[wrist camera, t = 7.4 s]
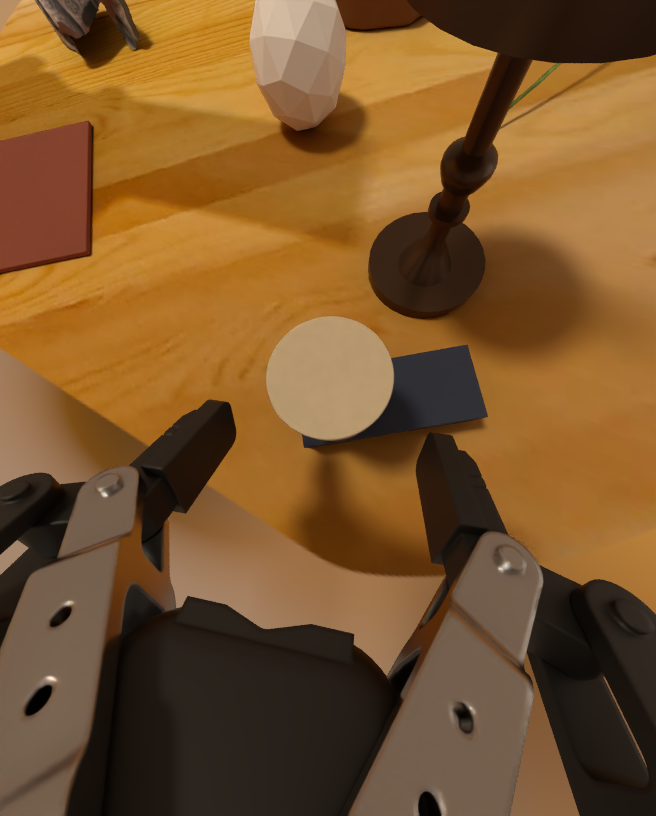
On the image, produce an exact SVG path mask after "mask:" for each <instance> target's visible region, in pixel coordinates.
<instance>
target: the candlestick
mask: <svg viewBox="0 0 656 816" xmlns="http://www.w3.org/2000/svg"><path fill="white" fill-rule="evenodd" d="M406 1H407V2H408V3H409V4H410V5H411V7H412V8H413V9H414V10H415V11H417V12H418V13H419V14H421V15H422V16H423V17H425V18H426V19H427V20H429V21H430V22H431V23H432V24H434V25H435V26H436V27H438V28H439V29H441V30H443V31H445V32H447V33H449V34H451V35H453V36H455V37H457V38H459V39H461V40H463V41H465V42H467V43H469V44H471V45H474V46H477V47H481V48H484V49H487V50H491V51H494V52H497V53H498V54H497V56H496V59H495V61H494V64H493V67H492V69H491V72H490V74H489V77H488V79H487V82H486V85H485V87H484V90H483V92H482V95H481V97H480V100H479V103H478V105H477V108H476V110H475V113H474V115H473V118H472V121H471V123H470V126H469V128H468V131H467V133H466V136H465V137H462V138H459V139H457V140H456V141H454V142H453V143H452V144H451V145H450V146H449V147H448V148H447V149H446V151H445V152H444V155H443V158H442V161H441V165H440V172H441V182H442V185H443V187H444V188H443V190H442V192H439V193H438V194H436V195H435V196H434V197H433V198H432V200H431V202H430V205H429V208H428V212H421V213H413V214H410V215H406V216H403V217H401V218H399V219H397V220H394V221H393V222H392V223H390V224H389V225H387V226H386V227H385V228H384V229H383V230H382V231H381V232H380V233H379V235H378V236H377V238H376V239H375V241H374V243H373V245H372V248H371V251H370V258H369V265H368V274H369V280H370V283H371V286H372V288H373V290H374V292H375V294H376V295H377V297H378V298H379V299H380V300H381V301H382V302H383V303H384V304H385V305H387V306H388V307H389V308H391V309H392V310H394V311H396V312H398V313H400V314H402V315H406V316H410V317H415V318H434V317H438V316H442V315H446V314H448V313H450V312H452V311H454V310H456V309H457V308H459V307H460V306H461V305H463V304H464V303H465V302H466V301H467V299H468V298H469V297H470V296H471V295H472V294H473V292H474V291H475V290H476V289H477V287H478V285H479V284H480V282H481V280H482V277H483V274H484V270H485V256H484V251H483V248H482V246H481V243H480V241H479V239H478V238H477V237H476V235H475V234H474V232H473V231H472V230H471V229H469V228H468V227H467V226H466V225H465V224H463V223H462V222H463V221H464V220H465V218H466V216H467V215H468V213H469V210H470V204H469V201H468V199H467V198H468V196H469V195H470V194H472V193H474V192H475V191H477V190H478V189H479V188H480V187H482V186H483V185H484V184H485V183H486V182H487V181H488V180H489V179H490V178H491V176H492V174H493V173H494V171H495V169H496V167H497V162H498V153H497V150H496V148H495V146H494V145H493V144H492V143H493V141H494V139H495V137H496V135H497V133H498V130H499V128H500V126H501V124H502V122H503V120H504V118H505V116H506V114H507V112H508V110H509V108H510V106H511V104H512V102H513V100H514V98H515V95H516V93H517V91H518V89H519V87H520V85H521V83H522V81H523V79H524V77H525V75H526V73H527V71H528V69H529V67H530V65H531V63H532V61H533V60H538V61H545V62H552V63H606V62H614V61H621V60H628V59H636V58H643V57H649V56H652V55H656V0H406Z"/></svg>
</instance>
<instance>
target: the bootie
mask: <svg viewBox="0 0 656 816" xmlns="http://www.w3.org/2000/svg"><path fill="white" fill-rule="evenodd" d="M266 384H267V391H268V396H269V399H270V401H271V404H272V406H273V408H274V410H275V411H276V413H277V414H278V416H279V417H280V418H281V419H282V420H283V421H284V422H285V423H286V424H287V425H288V426H289V427H291V428H292V429H294V430H295V431H297V432H298V433H301V434H302V437H303V444H304V448H311V447H317V446H323V445H329V444H335V443H341V442H347V441H353V440H359V439H365V438H371V437H377V436H383V435H389V434H395V433H401V432H407V431H413V430H419V429H424V428H430V427H436V426H442V425H448V424H454V423H460V422H466V421H471V420H476V419H480V418H485V417H488V415H487V412H486V408H485V405H484V401H483V398H482V394H481V391H480V387H479V384H478V380H477V377H476V373H475V370H474V366H473V363H472V359H471V356H470V352H469V349H468V345H463V346H457V347H451V348H446V349H440V350H435V351H429V352H424V353H418V354H413V355H407V356H401V357H396V358H391V357H390V354H389V352H388V350H387V348H386V346H385V345H384V343H383V342H382V341H381V339H380V338H379V337H378V336H377V335H376V334H375V333H374V332H373V331H372V330H370V329H369V328H368V327H366V326H365V325H363V324H361V323H359V322H357V321H354V320H351V319H348V318H343V317H336V316H327V317H319V318H315V319H311V320H309V321H306V322H303V323H302V324H300V325H298V326H296V327H295V328H293V329H292V330H290V331H289V332H288V333H287V334H286V335H285V336H284V337H283V338H282V339H281V340H280V341H279V343H278V344H277V346H276V347H275V349H274V351H273V353H272V355H271V357H270V360H269V363H268V368H267V375H266Z"/></svg>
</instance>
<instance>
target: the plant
mask: <svg viewBox="0 0 656 816" xmlns="http://www.w3.org/2000/svg"><path fill="white" fill-rule="evenodd" d="M336 3H337V6H338V9H339V12H340V15H341V18H342V21H343V24H344V26H345V27H348V28H351V29H364V30H366V29H376V28H384V27H395V26H404V25H408V24H410V23H412V22H413V21H414V20H416V19H417V18H419V17H420V16H422V15H421V14H419V13H418V12H417V11H415V10H414V9H413V8H412V7H411V5H410V4H409V3H408V2H407V1H406V0H336Z"/></svg>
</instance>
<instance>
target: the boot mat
mask: <svg viewBox="0 0 656 816" xmlns="http://www.w3.org/2000/svg"><path fill="white" fill-rule="evenodd" d="M91 162H92V125H91V123H90V122H89V121H85V122H81V123H76V124H72V125H67V126H63V127H59V128H54V129H50V130H46V131H41V132H37V133H33V134H28V135H24V136H19V137H15V138H11V139H6V140H2V141H0V273H3V272H8V271H13V270H18V269H23V268H27V267H32V266H37V265H42V264H47V263H52V262H56V261H61V260H66V259H71V258H76V257H81V256H86V255H90V228H91Z"/></svg>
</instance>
